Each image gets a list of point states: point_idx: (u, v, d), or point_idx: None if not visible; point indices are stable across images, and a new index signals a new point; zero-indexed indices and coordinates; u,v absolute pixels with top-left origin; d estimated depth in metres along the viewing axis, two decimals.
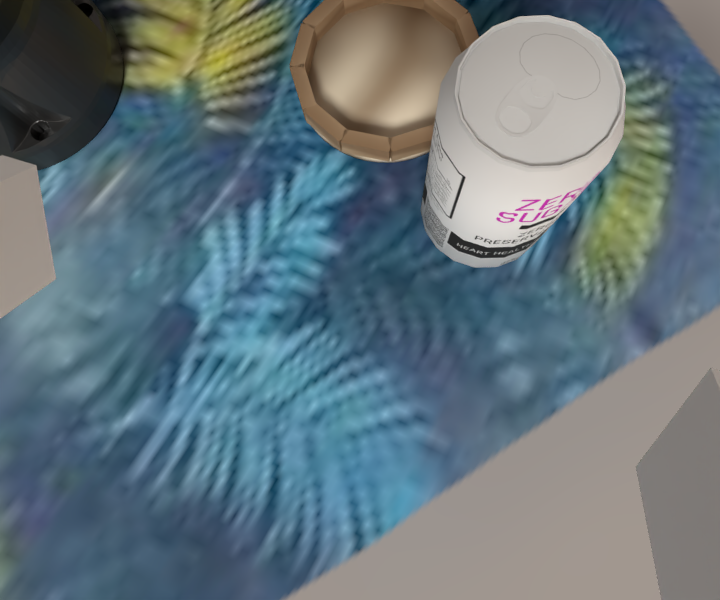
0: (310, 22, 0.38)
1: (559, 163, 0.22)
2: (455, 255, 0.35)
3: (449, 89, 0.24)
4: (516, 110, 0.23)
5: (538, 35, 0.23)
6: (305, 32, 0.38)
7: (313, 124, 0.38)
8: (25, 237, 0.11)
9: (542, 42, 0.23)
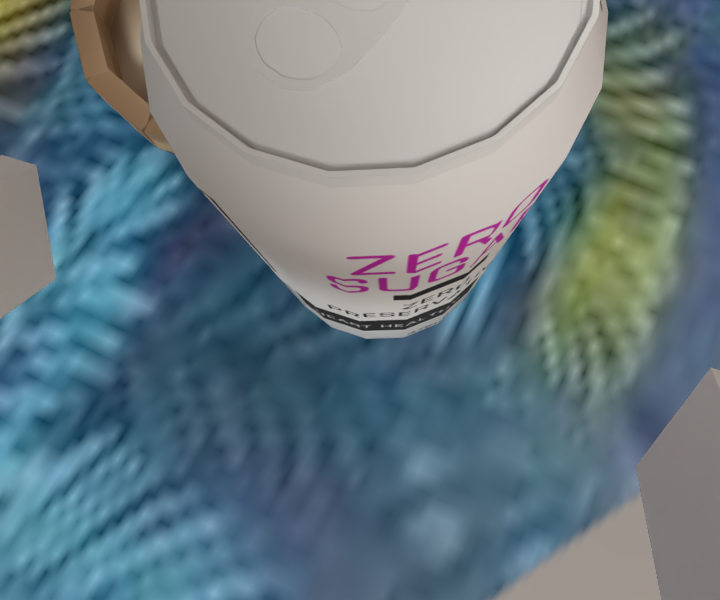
0: None
1: (416, 161, 0.08)
2: (327, 322, 0.20)
3: None
4: (304, 17, 0.08)
5: None
6: None
7: (109, 104, 0.23)
8: (25, 237, 0.11)
9: None
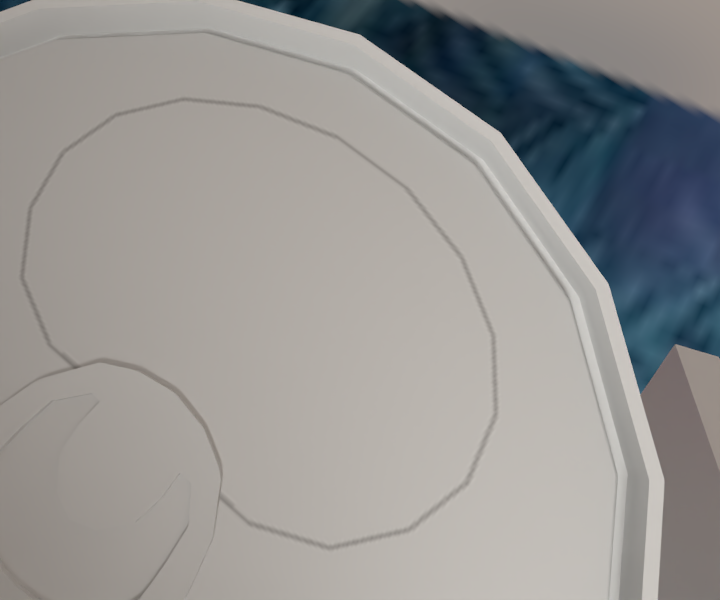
0: None
1: None
2: None
3: None
4: None
5: (149, 110, 0.04)
6: None
7: None
8: None
9: (164, 152, 0.04)
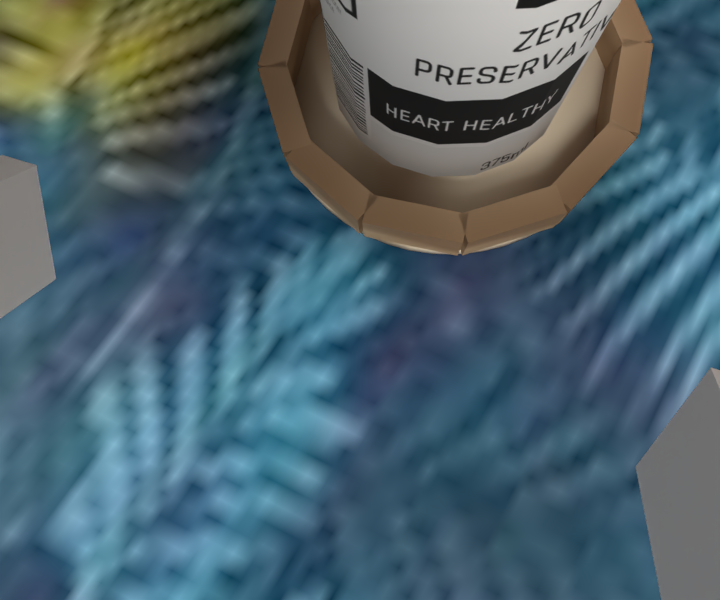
0: None
1: None
2: (391, 147, 0.18)
3: None
4: None
5: None
6: (289, 0, 0.19)
7: (305, 181, 0.19)
8: (25, 237, 0.11)
9: None
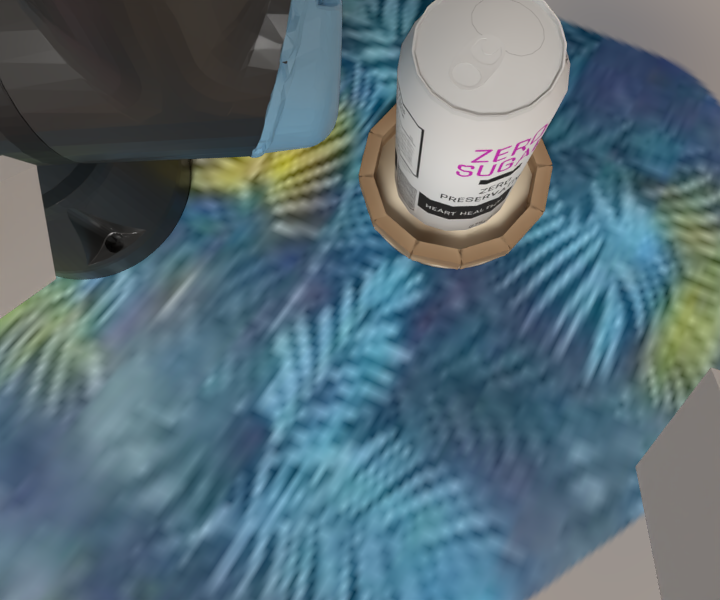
0: (377, 131, 0.39)
1: (506, 113, 0.25)
2: (426, 218, 0.37)
3: (408, 48, 0.26)
4: (468, 66, 0.25)
5: None
6: (373, 142, 0.39)
7: (382, 233, 0.39)
8: (25, 237, 0.11)
9: (492, 5, 0.26)
